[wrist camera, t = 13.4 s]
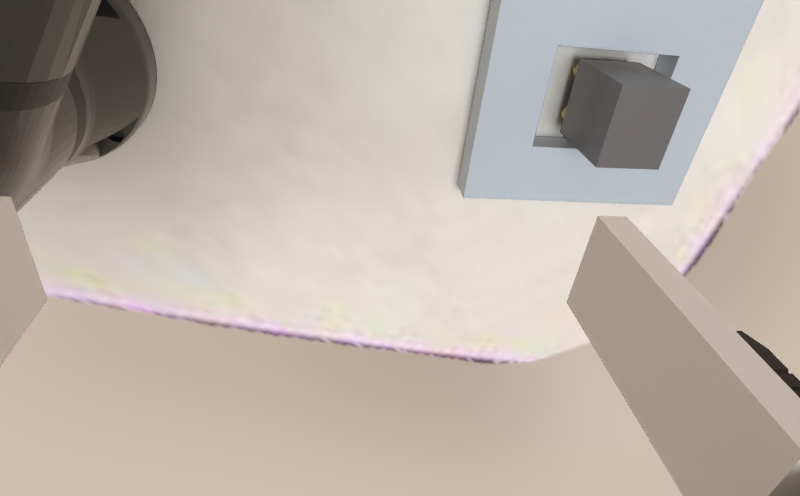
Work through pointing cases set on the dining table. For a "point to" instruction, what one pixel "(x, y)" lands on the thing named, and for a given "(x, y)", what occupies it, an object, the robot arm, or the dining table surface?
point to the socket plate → (600, 29)
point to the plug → (622, 113)
